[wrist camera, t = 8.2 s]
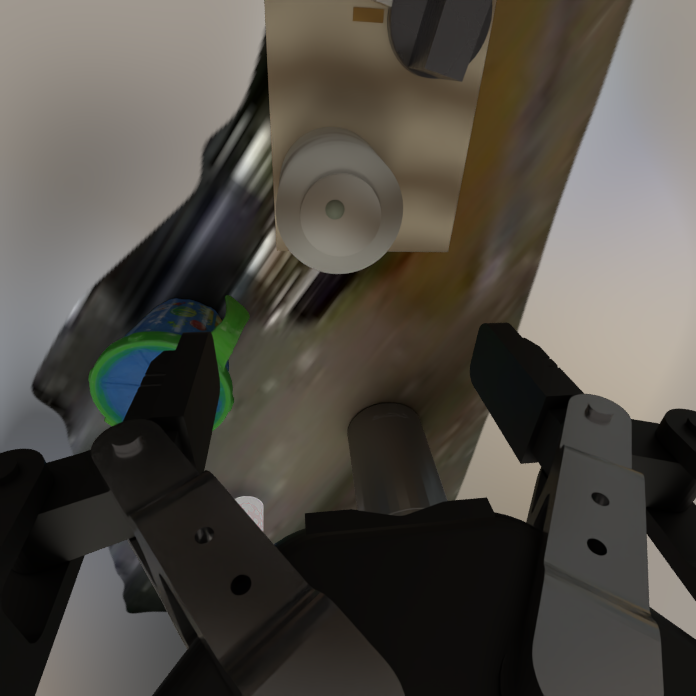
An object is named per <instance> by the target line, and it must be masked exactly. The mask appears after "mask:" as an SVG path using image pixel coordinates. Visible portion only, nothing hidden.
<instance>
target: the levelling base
mask: <svg viewBox="0 0 696 696" xmlns="http://www.w3.org/2000/svg"><path fill="white" fill-rule="evenodd" d="M264 1H265V2H264V3H265V23H266V43H267V63H268V83H269V103H270V124H271V144H272V164H273V184H274V204H275V225H276V245H277V250H279V251H290V252H291V253H292V254H293V255H294V256H295V257H296V258H297V259H298V260H300V261H301V262H302V263H304V264H305V265H307V266H309V267H311V268H313V269H315V270H318V271H321V272H325V273H330V274H346V273H351V272H355V271H359V270H362V269H364V268H366V267H368V266H370V265H371V264H373V263H375V262H376V261H377V260H379V259H380V258H381V257H382V256H383V255H384V254H385V253H386V252H448V249H449V243H450V238H451V233H452V228H453V223H454V218H455V213H456V207H457V202H458V197H459V192H460V187H461V182H462V177H463V171H464V166H465V161H466V156H467V151H468V146H469V140H470V135H471V130H472V125H473V120H474V115H475V110H476V104H477V99H478V94H479V89H480V84H481V79H482V74H483V68H484V63H485V58H486V53H487V48H488V43H489V38H490V32H491V27H492V22H493V17H494V12H495V7H496V1H497V0H492V18H491V23H490V28H489V31H488V34H487V37H486V39H485V41H484V44H483V45H482V47H481V49H480V51H479V52H478V54H477V55H476V57H475V58H474V59H473V60H472V61H471V62H470V63H469V65H468V67H467V70H466V73H465V76H464V78H463V81H462V82H460V81H452V80H444V79H432V78H423V77H420V76H417V75H414V74H412V73H411V72H409V71H408V70H406V69H405V68H404V67H403V66H402V65H401V64H400V62H399V61H398V60H397V58H396V56H395V55H394V53H393V50H392V48H391V45H390V42H389V37H388V30H387V15H388V8H389V7H386V6H384V5H381V4H378V3H376V2H373V1H371V0H264Z"/></svg>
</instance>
